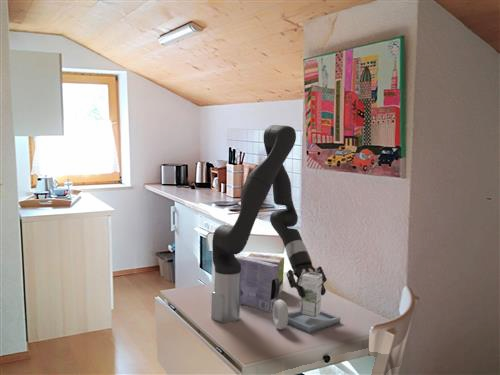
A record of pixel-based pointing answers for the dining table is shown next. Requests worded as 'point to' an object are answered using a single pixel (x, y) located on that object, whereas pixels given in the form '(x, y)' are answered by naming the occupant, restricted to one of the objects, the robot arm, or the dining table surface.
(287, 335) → the dining table surface
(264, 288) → the cake pan box
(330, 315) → the tray
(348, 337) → the dining table surface
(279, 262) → the tea box
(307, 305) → the syrup box
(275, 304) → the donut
